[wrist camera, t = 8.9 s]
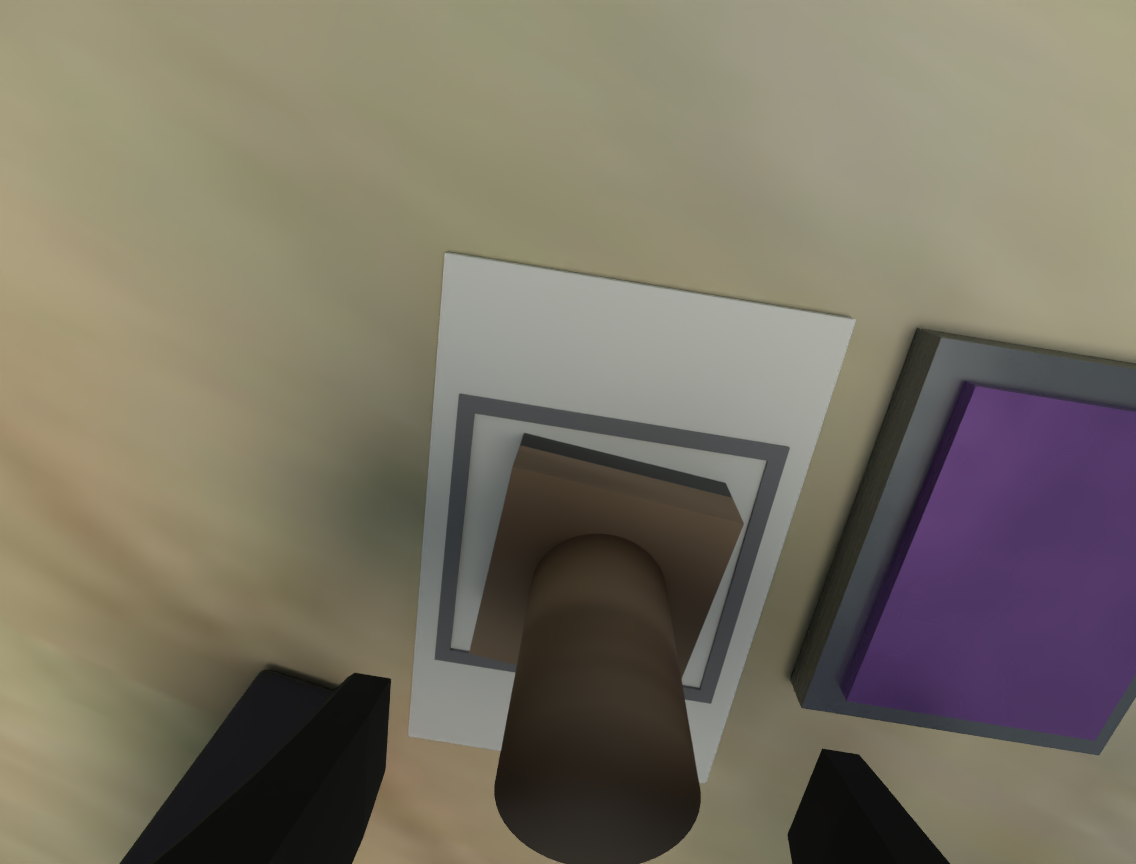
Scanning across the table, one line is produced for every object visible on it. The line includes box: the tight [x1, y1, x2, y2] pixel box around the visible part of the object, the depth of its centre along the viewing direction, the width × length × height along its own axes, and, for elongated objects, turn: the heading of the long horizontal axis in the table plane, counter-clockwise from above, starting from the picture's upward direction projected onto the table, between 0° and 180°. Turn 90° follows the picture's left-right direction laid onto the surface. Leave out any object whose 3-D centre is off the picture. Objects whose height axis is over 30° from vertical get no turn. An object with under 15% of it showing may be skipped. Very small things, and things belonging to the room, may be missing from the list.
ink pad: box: [791, 328, 1136, 755], centre depth 14 cm, size 10×8×1 cm
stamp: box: [469, 433, 744, 864], centre depth 12 cm, size 5×5×7 cm
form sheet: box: [408, 252, 856, 784], centre depth 16 cm, size 14×9×1 cm, turn 171°
